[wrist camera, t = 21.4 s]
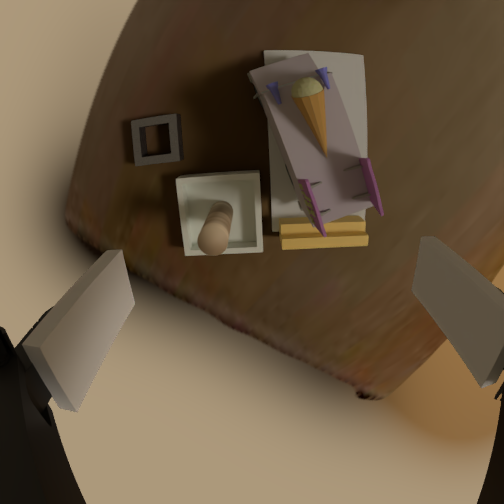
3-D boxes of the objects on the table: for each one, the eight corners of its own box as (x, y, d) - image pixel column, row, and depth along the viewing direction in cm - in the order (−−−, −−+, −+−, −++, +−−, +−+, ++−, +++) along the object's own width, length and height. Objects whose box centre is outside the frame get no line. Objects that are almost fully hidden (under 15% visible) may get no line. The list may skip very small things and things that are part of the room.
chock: (278, 218, 44) (281, 228, 40) (358, 215, 44) (369, 224, 39) (279, 237, 45) (282, 249, 41) (357, 234, 45) (367, 245, 41)
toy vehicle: (306, 58, 35) (334, 25, 21) (352, 186, 42) (397, 216, 28) (242, 78, 36) (237, 52, 22) (293, 207, 43) (313, 247, 29)
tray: (180, 175, 42) (175, 178, 39) (259, 169, 41) (259, 172, 39) (189, 247, 46) (185, 255, 43) (262, 244, 46) (263, 252, 43)
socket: (137, 120, 38) (130, 120, 36) (180, 114, 38) (176, 113, 36) (141, 164, 41) (135, 166, 39) (183, 158, 41) (179, 160, 38)
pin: (209, 201, 42) (195, 227, 31) (232, 200, 42) (226, 226, 31) (211, 223, 44) (199, 256, 32) (233, 222, 44) (229, 255, 32)
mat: (263, 51, 35) (263, 50, 35) (362, 55, 35) (363, 55, 34) (272, 230, 45) (272, 231, 45) (363, 227, 45) (364, 228, 44)
